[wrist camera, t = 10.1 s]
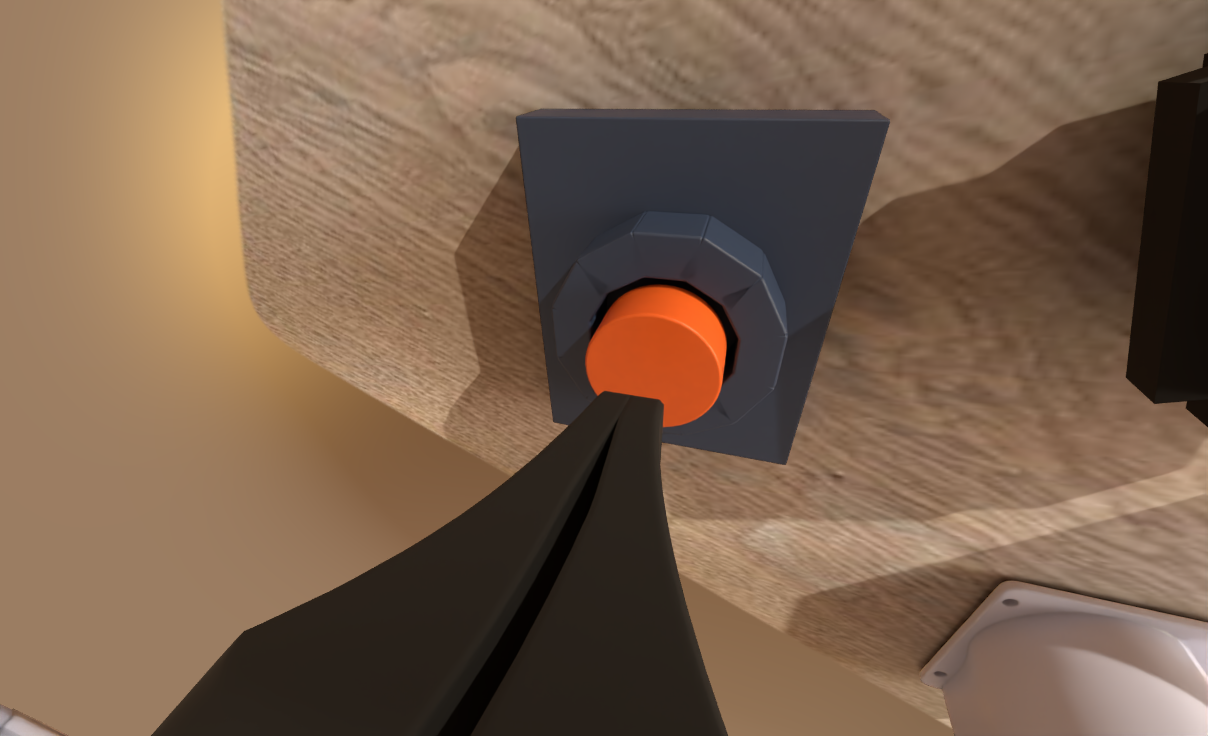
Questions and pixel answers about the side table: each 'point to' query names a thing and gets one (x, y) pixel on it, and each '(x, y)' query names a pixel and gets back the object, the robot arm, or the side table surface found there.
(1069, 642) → the robot arm
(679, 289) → the button
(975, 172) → the side table surface
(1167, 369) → the tool
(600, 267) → the button box
